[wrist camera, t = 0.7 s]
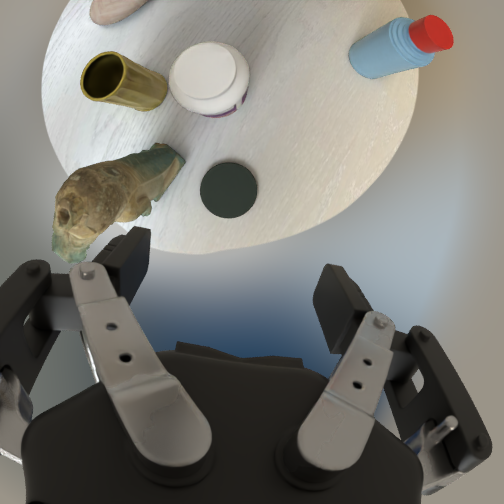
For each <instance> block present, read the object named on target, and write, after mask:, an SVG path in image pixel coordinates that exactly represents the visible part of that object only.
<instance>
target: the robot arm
mask: <svg viewBox="0 0 504 504" xmlns="http://www.w3.org/2000/svg"><path fill="white" fill-rule="evenodd" d="M150 240H151V230H150V229H147V228H142V227H136V226H134V227H133V228H132V229H131V230H130V231H129V232H128V233H127V235H119V236H117V237H115V238H113V239H112V240H111V241H110V242H109V243H108V245H106V246H105V247H104V249H103V250H102V251H101V252H100V253H99V254H98V255H97V256H96V257H95V258H94V260H93V261H92V262H81V263H78V264H76V265H74V266H73V267H72V268H71V269H70V271H69V274H54V273H53V274H52V273H51V270H50V265H49V263H48V262H46V261H44V260H31V261H27V262H25V263H24V264H22V265H21V266H20V267H19V268H18V269H17V270H16V271H15V272H14V273H13V274H12V275H11V276H10V277H9V278H8V279H7V280H6V281H5V282H4V283H3V284H2V285H1V287H0V455H2V454H3V455H5V456H6V457H8V458H10V459H12V460H14V461H15V462H17V463H19V464H21V465H23V470H24V476H25V484H26V504H421V494H423V495H431V494H433V493H435V492H437V491H438V490H440V489H442V488H444V487H445V486H447V485H449V484H450V483H452V482H454V481H455V480H457V479H458V478H460V477H462V476H463V475H465V474H466V473H467V472H469V471H470V470H472V469H473V468H475V467H476V466H478V465H479V464H480V463H482V462H483V461H484V460H486V459H487V458H488V457H489V456H490V455H491V452H492V441H491V439H490V436H489V434H488V432H487V430H486V427H485V425H484V423H483V421H482V419H481V417H480V415H479V413H478V411H477V409H476V407H475V405H474V403H473V401H472V400H471V397H470V395H469V394H468V392H467V390H466V388H465V386H464V384H463V383H462V381H461V379H460V377H459V376H458V374H457V372H456V370H455V369H454V367H453V365H452V364H451V362H450V360H449V359H448V357H447V355H446V354H445V352H444V350H443V349H442V347H441V346H440V344H439V342H438V341H437V339H436V338H435V336H434V335H433V334H432V333H431V332H430V331H429V330H427V329H426V328H424V327H421V326H413V327H412V328H411V330H410V331H409V333H408V334H405V333H402V332H399V331H396V330H395V325H394V323H393V321H392V320H391V319H390V318H389V317H387V316H386V315H384V314H382V313H379V312H376V311H374V310H373V309H372V308H371V306H370V304H369V302H368V301H367V299H366V298H365V296H364V294H363V293H362V291H361V289H360V288H359V286H358V285H357V284H356V283H355V282H354V281H353V280H352V279H351V278H349V276H348V275H347V273H346V271H345V270H344V268H343V267H342V266H337V265H332V264H326V265H325V266H324V268H323V271H322V274H321V276H320V279H319V281H318V284H317V286H316V289H315V291H314V295H313V305H314V308H315V311H316V313H317V316H318V319H319V322H320V325H321V327H322V330H323V333H324V336H325V339H326V342H327V345H328V348H329V351H330V353H331V354H342V357H341V358H340V360H339V362H338V363H337V365H336V367H335V368H334V370H333V372H332V373H331V375H330V377H329V378H328V379H327V378H326V377H324V376H322V375H321V374H319V373H317V372H315V371H312V370H310V369H307V368H304V366H303V362H302V359H301V358H291V357H280V356H265V357H253V358H239V357H236V356H233V355H230V354H227V353H224V352H221V351H218V350H216V349H213V348H210V347H206V346H200V345H194V344H189V343H183V342H179V341H178V342H177V344H176V349H175V350H169V351H160V352H155V351H154V350H153V348H152V347H151V345H150V343H149V341H148V340H147V338H146V336H145V334H144V333H143V331H142V329H141V327H140V325H139V324H138V322H137V320H136V318H135V316H134V314H133V313H132V310H131V309H130V307H129V306H130V303H131V302H132V300H133V298H134V296H135V294H136V292H137V290H138V288H139V286H140V284H141V282H142V281H143V279H144V277H145V275H146V273H147V270H148V265H149V253H150ZM28 314H29V319H28V320H27V322H26V323H25V325H24V326H23V324H24V321H25V319H26V317H27V316H28ZM61 330H62V331H79V333H80V337H81V340H82V343H83V347H84V350H85V353H86V356H87V359H88V362H89V365H90V368H91V371H92V374H93V376H94V380H95V383H96V384H94V385H92V386H91V387H89V388H87V389H85V390H84V391H82V392H80V393H79V394H76V395H74V396H73V397H71V398H69V399H67V400H65V401H64V402H62V403H60V404H58V405H56V406H55V407H52V408H50V409H49V410H47V411H45V412H43V413H41V414H40V415H38V416H37V417H35V418H34V419H33V420H32V414H33V405H32V401H31V399H30V397H29V394H30V392H31V389H32V387H33V385H34V383H35V380H36V378H37V376H38V374H39V372H40V370H41V368H42V366H43V364H44V362H45V360H46V358H47V356H48V354H49V352H50V350H51V348H52V346H53V344H54V343H55V341H56V339H57V337H58V335H59V333H60V332H61ZM418 369H419V370H420V371H421V373H422V375H423V378H424V385H423V388H422V389H421V391H420V392H419V393H418V392H417V390H416V388H415V385H414V383H413V381H412V379H411V378H412V376H413V375H414V374H415V373H416V371H417V370H418ZM383 388H384V391H385V393H386V396H387V399H388V402H389V405H390V408H391V410H392V413H393V416H394V419H395V422H396V425H397V428H398V431H399V434H400V438H401V440H400V439H399V438H397V437H396V436H395V435H394V434H393V433H391V432H390V431H389V430H388V429H386V428H385V427H384V426H383V425H381V424H380V423H379V422H378V421H377V420H376V419H375V418H374V412H375V409H376V407H377V404H378V401H379V398H380V395H381V393H382V389H383Z"/></svg>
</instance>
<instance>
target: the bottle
mask: <svg viewBox="0 0 504 504" xmlns="http://www.w3.org/2000/svg"><path fill="white" fill-rule="evenodd" d="M413 22H415V21H414V20H412V19H409V18H403V17H400V18H396V19H394V20H392V21H390V22H389V23H387V24H385V25H383V26H382V27H380V28H378V29H377V30H375V31H373V32H372V33H370V34H369V35H367V36H365V37H364V38H362V39H361V40H359V41H357V42H356V43H354V44H353V45H352V46H351V48H350V50H349V60H350V63H351V65H352V66H353V68H354V69H355V70H356V71H357V72H358V73H359V74H360V75H362V76H364V77H366V78H370V79H376V78H380V77H383V76H387V75H390V74H394V73H398V72H402V71H406V70H410V69H414V68H418V67H423V66H426V65H428V64H429V63H430V62H431V61H432V59H433V58H434V54H435V52H434V53H425V52H423V51H421V50H420V49H418V48H417V47H416V46H415V44H414V43H413V42H412V40H411V38H410V35H409V26H410V24H411V23H413Z"/></svg>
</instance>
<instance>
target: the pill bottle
mask: <svg viewBox="0 0 504 504" xmlns="http://www.w3.org/2000/svg"><path fill="white" fill-rule="evenodd" d="M249 79H250V72H249V67H248V64H247V62H246V60H245V58H244V57H243V55H242V54H241V53H240V52H239V51H238V50H236V49H235V48H234V47H232V46H230V45H227V44H224V43H221V42H202V43H198V44H196V45H193V46H191V47H189V48H187V49H186V50H185V51H183V52H182V53H181V54H180V55H179V56H178V57H177V59H176V60H175V61H174V63H173V65H172V67H171V70H170V74H169V87H170V90H171V93H172V95H173V97H174V98H175V100H176V101H177V102H178V103H179V104H180V105H181V106H182V107H184V108H185V109H187V110H189V111H192V112H194V113H197V114H200V115H203V116H206V117H211V118H220V117H225V116H228V115H230V114H232V113H234V112H235V111H236V110H238V109H239V108H240V107H241V105H242V104H243V102H244V100H245V98H246V95H247V90H248V85H249Z"/></svg>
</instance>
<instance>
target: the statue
mask: <svg viewBox="0 0 504 504" xmlns="http://www.w3.org/2000/svg"><path fill="white" fill-rule="evenodd" d="M184 164H185V160H184V159H183V158H182V157H181V156H180V155H179V154H177V153H176V152H175V151H174V150H173V149H172V148H170V147H169V146H168V145H167V144H159V143H155V144H154V145H153V146H152V147H151V148H150V150H142V151H141V152H140V153H133V154H130V155H128V156H126V157H123V158H120V159H117V160H113V161H105V162H100V163H96V164H93V165H90V166H87V167H83V168H79V169H78V170H76V171H75V172H74V173H72V174H71V175H70V176H69V178H68V179H67V180H66V181H65V182H64V184H63V185H62V187H61V188H60V190H59V191H58V193H57V195H56V197H55V198H56V202H55V213H54V222H53V230H54V233H53V236H52V251H54V252H55V253H56V254H57V255H58V256H59V257H61V258H62V259H63V260H65V261H67V262H68V263H78V262H81V261H83V260H84V259H85V258H86V255H87V254H86V249H89V246H90V244H92V243H93V242H94V241H95V239H96V238H97V237H98V235H100V234H101V233H103V232H104V231H105V230H106V229H107V228H108V227H109V225H112V224H113V223H114V222H130V221H133V220H135V219H137V218H138V217H139V216H140V215H142V216H143V217H144V216H148V215H149V214H150V213H151V209H152V206H151V200H154V201H155V202H157V201H159V199H160V198H161V196H162V195H163V193H164V192H165V191H166V189H167V188H168V186H169V185H170V184H171V182H172V181H173V179H174V178H175V177H176V175H177V174H178V172H179V171H180V170H181V168H182V167H183V165H184Z"/></svg>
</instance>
